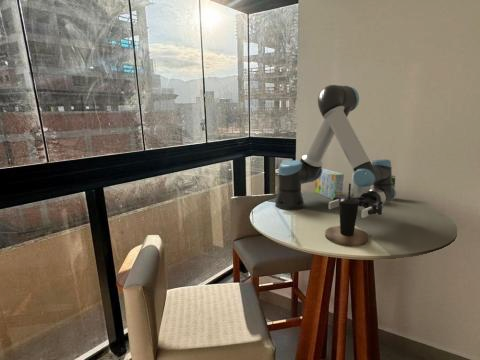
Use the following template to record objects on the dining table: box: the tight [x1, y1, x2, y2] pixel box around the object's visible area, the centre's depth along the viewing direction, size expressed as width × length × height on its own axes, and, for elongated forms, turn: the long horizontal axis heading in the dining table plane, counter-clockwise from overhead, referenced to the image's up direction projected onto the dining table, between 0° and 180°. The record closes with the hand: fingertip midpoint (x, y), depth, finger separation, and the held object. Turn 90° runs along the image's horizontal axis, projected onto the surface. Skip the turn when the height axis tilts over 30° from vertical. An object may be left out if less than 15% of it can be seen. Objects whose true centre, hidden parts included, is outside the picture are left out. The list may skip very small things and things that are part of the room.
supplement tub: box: [350, 173, 371, 197], centre depth 162 cm, size 10×10×15 cm
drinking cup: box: [338, 183, 360, 236], centre depth 112 cm, size 8×8×20 cm
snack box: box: [314, 167, 345, 201], centre depth 172 cm, size 21×6×15 cm, turn 17°
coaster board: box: [324, 225, 370, 247], centre depth 114 cm, size 16×16×2 cm
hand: (345, 209), depth 110 cm, fingers open, 13 cm apart
